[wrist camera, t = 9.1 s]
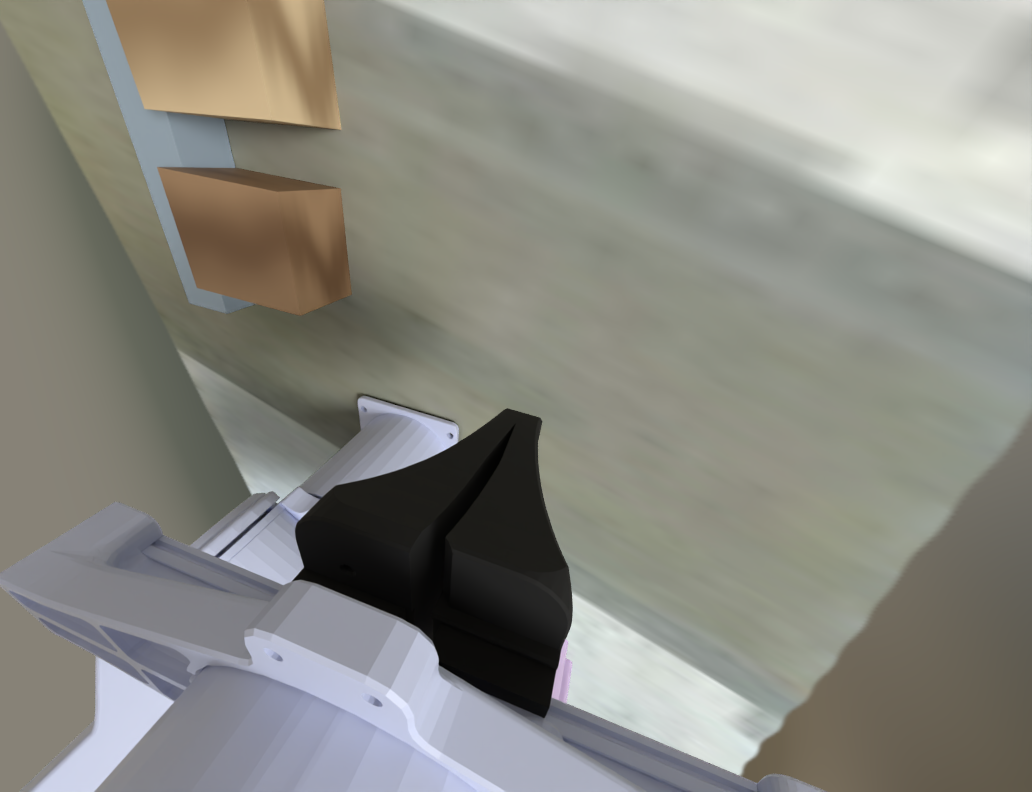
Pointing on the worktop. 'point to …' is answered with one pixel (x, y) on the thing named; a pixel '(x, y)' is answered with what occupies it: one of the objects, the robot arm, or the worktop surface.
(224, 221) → the walnut block
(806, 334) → the worktop surface
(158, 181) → the batten
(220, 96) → the oak block
